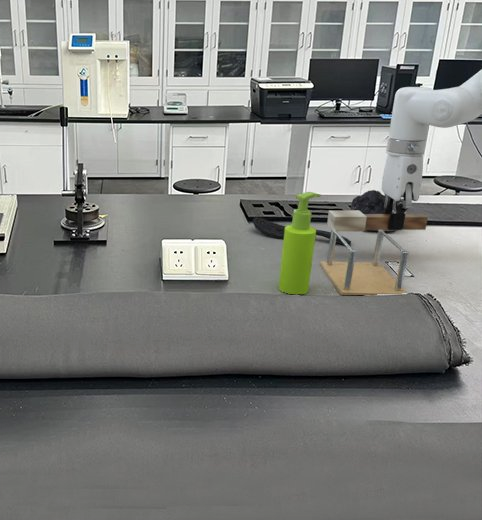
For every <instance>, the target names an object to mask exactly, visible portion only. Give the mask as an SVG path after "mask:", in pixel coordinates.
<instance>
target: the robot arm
mask: <svg viewBox="0 0 482 520" xmlns="http://www.w3.org/2000/svg"><path fill="white" fill-rule="evenodd" d="M480 116H482V69H480V70H479V71H477V73H475V74H474V75H472V76H471V77H470V78H468V80H466V81H465V82H463V83H462V84H461V85H459V86H455V87H450V88H442V89H432V88H430V87H427V86H426V87H425V86H405V87H400V88H399V89H398V90H397V91H396V92H395V94H394V100H393V106H392V111H391V119H390V123H389V124H390V125H389V131H388V138H387V144H386V151H385V153H386V154H387V157H386V159H385V164H384V169H383V174H382V180H381V191H382V192H383V195H384V196H385V204H384V207H385V209H384V214H390V216H389V222H388V229H389V230H392V231H393V230H395V231H403V230H402V229H403V225H404V220H405V214H408V209H410V208H412V207H413V202H417V201H419V200H420V194H421V188H422V183H423V182H422V181H423V173H424V171H423V170H424V155H425V152H426V146H427V140H428V135H429V130H430V126H431V127H434V128H441V129H446V128H452V127H457V126H459V125H463V124H467V123H469V122H472V121H474V120H476V119H477V118H479V117H480Z"/></svg>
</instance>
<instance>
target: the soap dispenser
mask: <svg viewBox="0 0 482 520" xmlns="http://www.w3.org/2000/svg"><path fill="white" fill-rule="evenodd" d="M321 196H322V194H320V193H316V192H313V191H306V192H305V191H304V192H302V193H299V194H297V195H295V199H296V200H299V201H298V207H297V208H296V209H294V210H293V211H292V222H291V224H290V225H289V224H286V225H285V226H286V227H285V232H284V239H283V242H282V250H281V259H280V268H279V269H280V270H279V277H278V278H279V279H278V286H277V287H278V290H279V291H280V292H281V291H282V293H283V292H286V293H288V294H287V295H289V294H304V295H306V294H308V292H309V287H310V279H311V273H312V272H311V271H312V265H313V257H314V251H315V242H316V236H317V235H316V230H317V229H316V228H315V227H313V226H312V225H311V223H312V222H311V220H312V213H313V212H312V211H311V210H310V209H308V207H309V201H310V199H313V198H321ZM286 293H285V294H286Z"/></svg>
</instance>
